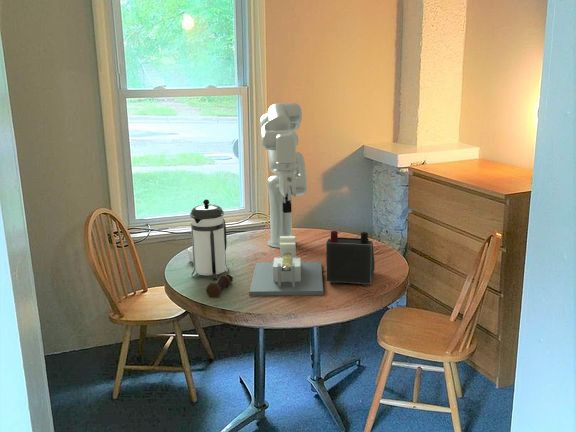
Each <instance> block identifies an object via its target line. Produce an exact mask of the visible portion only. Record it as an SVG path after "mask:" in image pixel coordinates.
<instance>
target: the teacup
mask: <svg viewBox="0 0 576 432" xmlns="http://www.w3.org/2000/svg"><path fill="white" fill-rule="evenodd" d="M187 256H188V259H189V261H191V262H192V263H194V261H193V247H192V246H191V247H188V248H187Z"/></svg>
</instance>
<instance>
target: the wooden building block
mask: <svg viewBox="0 0 576 432" xmlns="http://www.w3.org/2000/svg"><path fill="white" fill-rule="evenodd" d="M282 271H291V253H284V254H283V263H282Z"/></svg>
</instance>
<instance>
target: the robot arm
mask: <svg viewBox="0 0 576 432" xmlns="http://www.w3.org/2000/svg"><path fill="white" fill-rule="evenodd" d="M302 119H303V111H302V108H301V106H300V105H299V104H298V103H296V102H283V103H279V102H278V103H274V104H272V105H270V106H269V108H268V110H267V113H265V114H262V116H260V130H261V131H260V140H261V145H262V147H263V149H264V150H266V151H267V157H268V158H267V160H268V167H269V171H270V172H271V173H273V174H272V175H271V176H269V177H268V179H267V180H266V186H267V194H268V199H269V221H270V222H269V224H270V239H267V245H268V246H269V247H271V248H277V249H278V248H279V249H280V236H293V233H292V232H293V231H292V229H293V228H292V223H293V222H292V220H293V219H292V196H293V197H296V196H303V195H305V194H306V193H307V190H308V181H307V173H306V171H307V170H306V163H305V157H304V155H303V153H302V152H300V151H297V150H296V148H297V146H298V145H299V136H298V133H296V131H298V130H299V129H300V125H301V122H302Z"/></svg>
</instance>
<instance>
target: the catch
mask: <svg viewBox="0 0 576 432" xmlns="http://www.w3.org/2000/svg"><path fill="white" fill-rule="evenodd" d="M279 249H280V250H279V251H280V252H279V258H283V254H284V253H291V258H297V254H296V252H297V249H296V235H292V236H280V248H279Z"/></svg>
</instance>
